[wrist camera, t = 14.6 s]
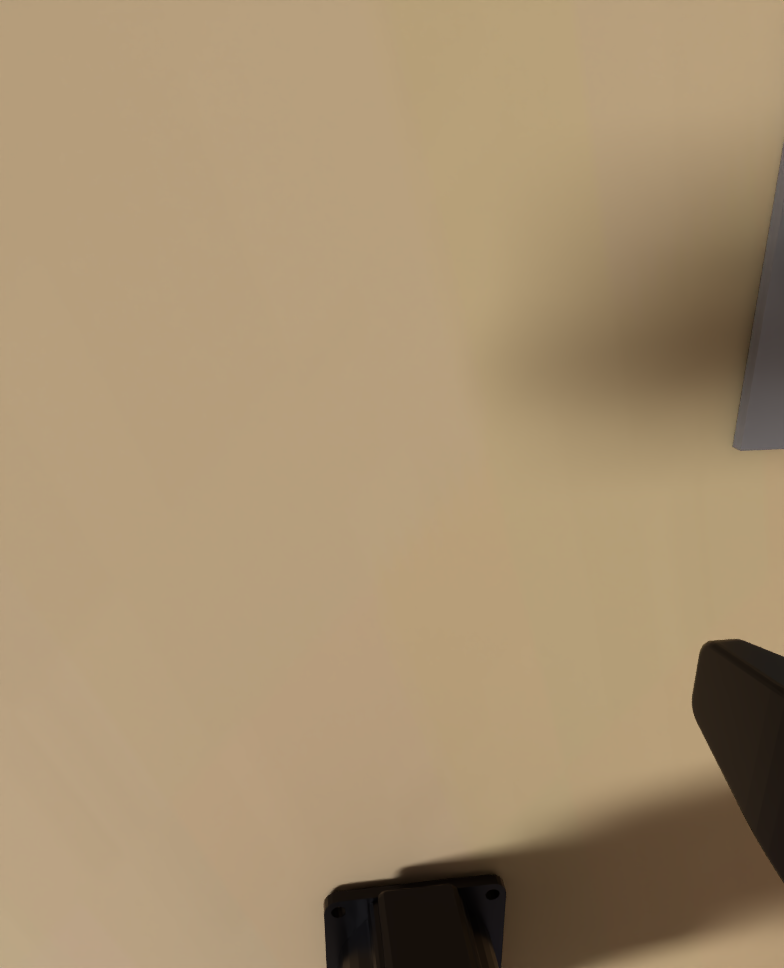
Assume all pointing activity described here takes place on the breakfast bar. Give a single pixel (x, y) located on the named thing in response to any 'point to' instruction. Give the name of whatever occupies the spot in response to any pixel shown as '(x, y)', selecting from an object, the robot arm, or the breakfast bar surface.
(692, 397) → the breakfast bar surface
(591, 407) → the breakfast bar surface
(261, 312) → the breakfast bar surface
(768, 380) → the mat
